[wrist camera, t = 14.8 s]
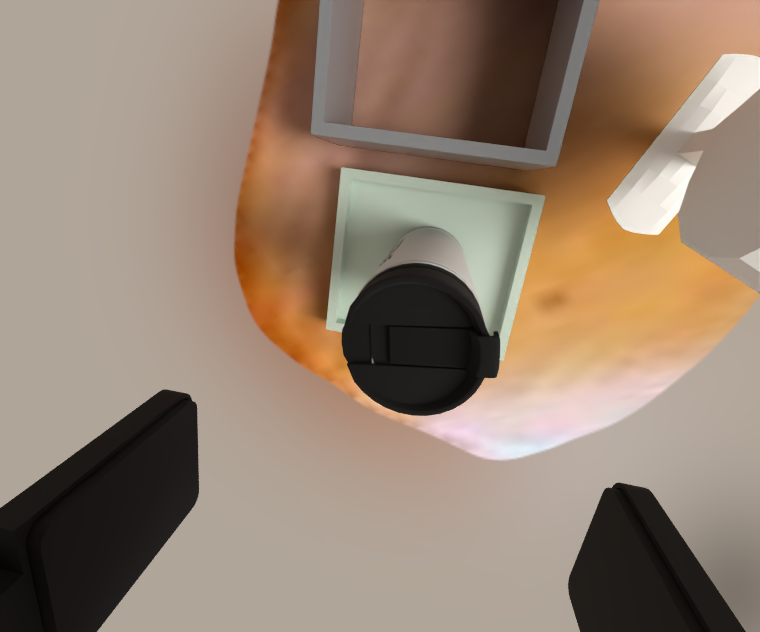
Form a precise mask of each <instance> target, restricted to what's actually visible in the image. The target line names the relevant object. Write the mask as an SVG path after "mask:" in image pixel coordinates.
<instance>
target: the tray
mask: <svg viewBox="0 0 760 632" xmlns="http://www.w3.org/2000/svg"><path fill="white" fill-rule="evenodd" d="M545 197H546V196H544V195H537V194H530V193H523V192H516V191H509V190H502V189H494V188H487V187H480V186H473V185H466V184H459V183H452V182H444V181H437V180H430V179H423V178H416V177H409V176H401V175H394V174H387V173H380V172H373V171H366V170H359V169H351V168H344V167H341V175H340V186H339V196H338V207H337V217H336V228H335V238H334V249H333V259H332V270H331V281H330V291H329V302H328V312H327V323H326V329H327V330H333V331H338V332H342V329H343V327H344V325H345V320H346V317H347V314H348V311H349V307H350V305H351V304H352V303H353V302H354V300H355V299H356V298H357V296H358V294H359V292H360V290H361V289H362V288H363V286H364V285H365V284H366V283H367V281H368V280H369V279H370V277H371V276H372V275H373V274H374V272H375V271H376V270H377V268H378V267H379V266H380V265H381V263H382V262H383V261H384V259H385V258H386V257H387V256H388V254H389V253H390V252H391V250H392V249H393V248H394V247H395V245H396V244H397V243H398V241H399V240H400V239H401V238H402V237H403V236H404V235H405V234H406V233H408V232H410V231H411V230H413V229H416V228H419V227H426V226H430V227H437V228H441V229H443V230H445V231H447V232H449V233H450V234H451V235H452V236H454V237H455V238H456V240H457V241H458V242H459V244H460V246H461V248H462V250H463V253H464V256H465V259H466V262H467V265H468V268H469V271H470V274H471V277H472V280H473V283H474V286H475V290H476V293H477V296H478V299H479V302H480V305H481V309H482V312H483V316H484V322H485V326H486V328H487V330H488V333H489V335H490V336H493V331H498V334H499V337H500V361H503V360H504V356H505V352H506V348H507V344H508V340H509V336H510V332H511V329H512V325H513V321H514V317H515V313H516V309H517V305H518V301H519V298H520V294H521V290H522V286H523V282H524V278H525V274H526V270H527V267H528V263H529V259H530V255H531V251H532V247H533V243H534V239H535V236H536V232H537V228H538V224H539V220H540V216H541V212H542V208H543V205H544V201H545Z"/></svg>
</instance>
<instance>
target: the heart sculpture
mask: <svg viewBox="0 0 760 632" xmlns="http://www.w3.org/2000/svg"><path fill="white" fill-rule="evenodd" d="M607 202H608V205H609V207H610V210H611V212H612V214H613V216H614V218H615V219H616V221H617V222H618V223H619V225H620V226H621V227H622V228H623V229H625V230H628V231H631V232H634V233H641V234H654V235H659V233H660V232H661V231H662V230H663V229H664V228H665V226H666V225H667V224H668V223H669V222H670V221H671V220H672V218H673V217H674V216H675V215H676V214H677V213H678V212H679V213H678V218H679V227H680V236H681V242H682V243H684V244H685V245H687V246H688V247H690V248H691V249H693V250H694V251H696V252H697V253H699V254H700V255H702V256H703V257H705V258H706V259H708V260H709V261H711V262H712V263H714V264H715V265H717V266H718V267H720V268H721V269H723V270H724V271H726V272H727V273H729V274H730V275H732V276H733V277H735V278H736V279H738V280H740V281H741V282H743V283H744V284H746V285H747V286H749V287H751V288H752V289H754V290H755V291H757V292H758V293H760V57H757V56H753V55H745V54H723V55H722V56H721V58H720V59H719V60H718V61H717V63H716V64H715V65H714V66H713V68H712V69H711V70H710V71H709V73H708V74H707V75H706V77H705V78H704V79H703V80H702V82H701V83H700V84H699V85H698V87H697V88H696V89H695V90H694V92H693V93H692V94H691V95H690V97H689V98H688V99H687V100H686V102H685V103H684V104H683V105H682V107H681V108H680V109H679V110H678V112H677V113H676V114H675V115H674V117H673V118H672V119H671V121H670V122H669V123H668V124H667V126H666V127H665V128H664V129H663V131H662V132H661V133H660V134H659V136H658V137H657V138H656V139H655V141H654V142H653V143H652V144H651V146H650V147H649V148H648V149H647V151H646V152H645V153H644V154H643V156H642V157H641V158H640V160H639V161H638V162H637V163H636V165H635V166H634V167H633V168H632V170H631V171H630V172H629V173H628V175H627V176H626V177H625V178H624V180H623V181H622V182H621V183H620V185H619V186H618V187H617V188H616V190H615V191H614V192H613V193H612V195H611V196H610V197H609V199H608V200H607Z"/></svg>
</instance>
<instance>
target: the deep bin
mask: <svg viewBox="0 0 760 632" xmlns="http://www.w3.org/2000/svg"><path fill="white" fill-rule="evenodd" d="M598 4H599V0H559V1H558V6H557V10H556V14H555V19H554V23H553V27H552V31H551V36H550V40H549V44H548V49H547V53H546V57H545V62H544V66H543V70H542V74H541V79H540V83H539V87H538V92H537V96H536V100H535V105H534V109H533V113H532V117H531V122H530V126H529V130H528V135H527V139H526V143H525V148H520V147H512V146H505V145H497V144H489V143H482V142H474V141H466V140H458V139H451V138H443V137H435V136H427V135H420V134H412V133H404V132H396V131H389V130H381V129H373V128H365V127H358V126H352V117H353V107H354V97H355V87H356V77H357V67H358V57H359V47H360V37H361V27H362V17H363V7H364V0H320V7H319V21H318V35H317V50H316V64H315V79H314V93H313V108H312V122H311V134H312V135H314V136H317V137H320V138H322V139H325V140H327V141H330V142H333V143H335V144H338V145H341V146H348V147H356V148H363V149H371V150H378V151H385V152H393V153H400V154H408V155H415V156H423V157H430V158H437V159H445V160H452V161H460V162H467V163H475V164H482V165H489V166H497V167H504V168H512V169H519V170H527V171H532V170H538V169H544V168H550V167H556V165H557V161H558V157H559V154H560V150H561V146H562V142H563V138H564V134H565V131H566V127H567V123H568V119H569V115H570V111H571V107H572V104H573V100H574V96H575V92H576V88H577V84H578V81H579V77H580V73H581V69H582V65H583V61H584V58H585V54H586V50H587V46H588V42H589V38H590V35H591V31H592V27H593V23H594V19H595V15H596V11H597V8H598Z"/></svg>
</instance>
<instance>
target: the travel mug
mask: <svg viewBox="0 0 760 632" xmlns="http://www.w3.org/2000/svg"><path fill="white" fill-rule="evenodd" d="M342 347H343V354H344V356H345V358H346V360H347V361H348V363H347V366H348V368H349V370H350V373H351V375H352V377H353V380H354V382H355V383H356V384H357V385H358V386H359V388H360V389H361V390H362V391H363V392H364V393H365V394H366V395H368V396H369V397H370V398H371V399H372V400H374V401H375V402H377V403H379V404H380V405H382V406H384V407H385V408H388V409H391V410H393V411H396V412H398V413H403V414H408V415H418V416H428V415H435V414H440V413H443V412H446V411H449V410H452V409H454V408H456V407H457V406H459V405H461V404H462V403H464V402H466V401H467V400H468V399H469V398H470V397H471V396H472V395H473V394H474V393H475V392H476V391H477V389H478V388H479V386H480V385H481V383H482V381H483V380H484V378H496V377H497V373H498V370H499V361H500V337H499V334H498V331H493V336H490V335H489V333H488V330H487V328H486V326H485V322H484V316H483V312H482V309H481V305H480V302H479V299H478V296H477V293H476V290H475V286H474V283H473V280H472V277H471V274H470V271H469V268H468V265H467V262H466V259H465V256H464V253H463V250H462V248H461V246H460V244H459V242H458V241H457V240H456V238H455V237H454V236H452V235H451V234H450V233H449V232H447V231H445V230H443V229H441V228H437V227H430V226H426V227H419V228H416V229H413V230H411V231H410V232H408V233H406V234H405V235H404V236H403V237H402V238H401V239H400V240H399V241H398V243H397V244H396V245H395V247H394V248H393V249H392V250H391V252H390V253H389V254H388V256H387V257H386V258H385V259H384V261H383V262H382V263H381V265H380V266H379V267H378V268H377V270H376V271H375V272H374V274H373V275H372V276H371V277H370V279H369V280H368V281H367V283H366V284H365V285H364V286H363V288H362V289H361V290H360V292H359V294H358V296H357V298H356V299H355V300H354V302H353V303H352V304H351V305H350V307H349V311H348V314H347V317H346V320H345V325H344V327H343V329H342Z"/></svg>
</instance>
